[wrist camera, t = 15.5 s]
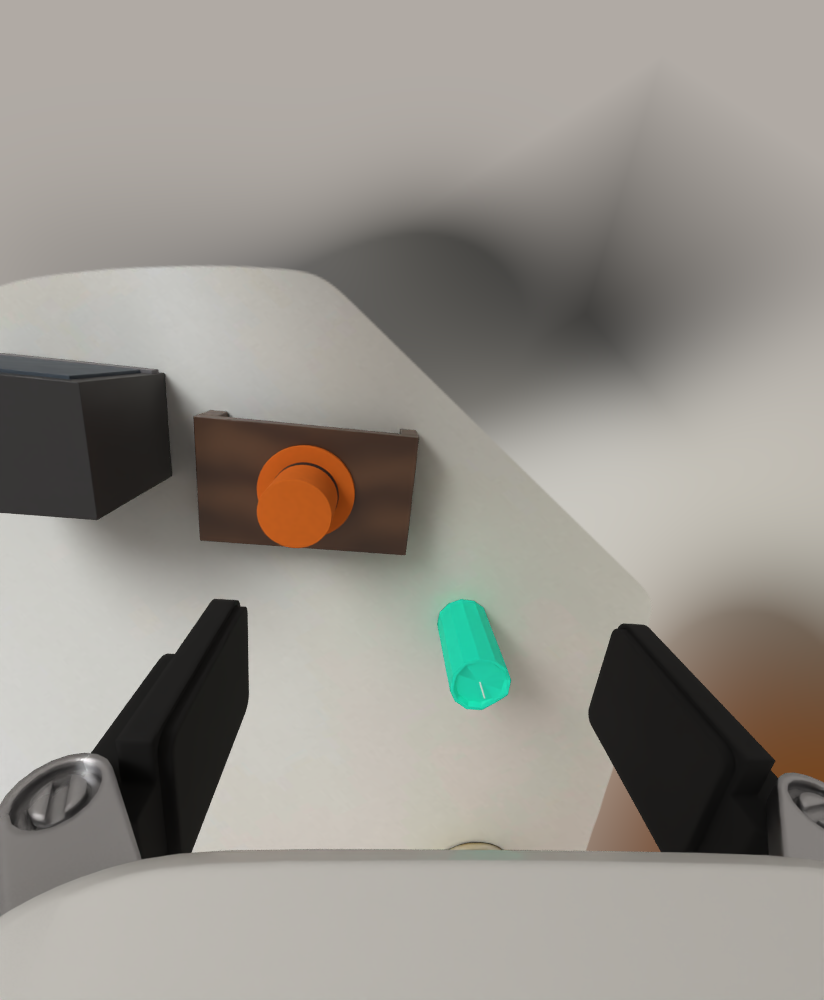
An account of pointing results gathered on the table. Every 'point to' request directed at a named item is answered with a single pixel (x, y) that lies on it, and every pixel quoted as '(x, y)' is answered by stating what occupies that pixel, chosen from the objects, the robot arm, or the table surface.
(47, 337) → the table surface
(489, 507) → the table surface
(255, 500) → the stand
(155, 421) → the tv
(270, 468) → the hat
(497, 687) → the candle
